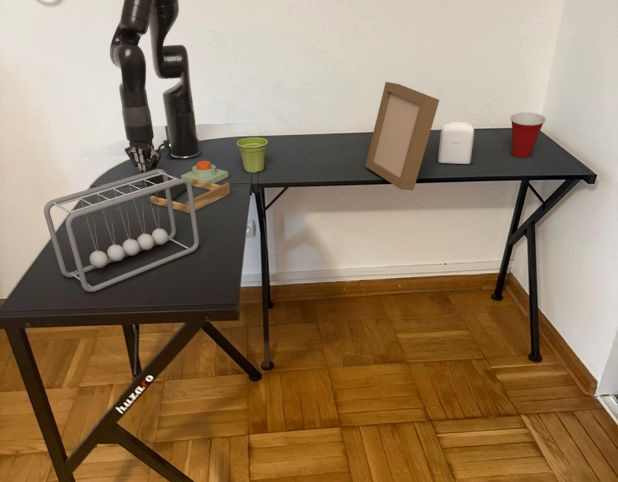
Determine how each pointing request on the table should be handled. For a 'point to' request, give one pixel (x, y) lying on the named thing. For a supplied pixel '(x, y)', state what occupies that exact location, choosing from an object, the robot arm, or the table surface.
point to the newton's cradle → (130, 245)
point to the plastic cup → (525, 132)
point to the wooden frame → (201, 200)
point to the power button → (203, 165)
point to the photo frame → (401, 134)
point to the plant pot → (253, 153)
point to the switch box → (206, 174)
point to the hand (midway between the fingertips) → (147, 182)
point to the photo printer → (456, 143)
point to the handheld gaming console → (174, 191)
